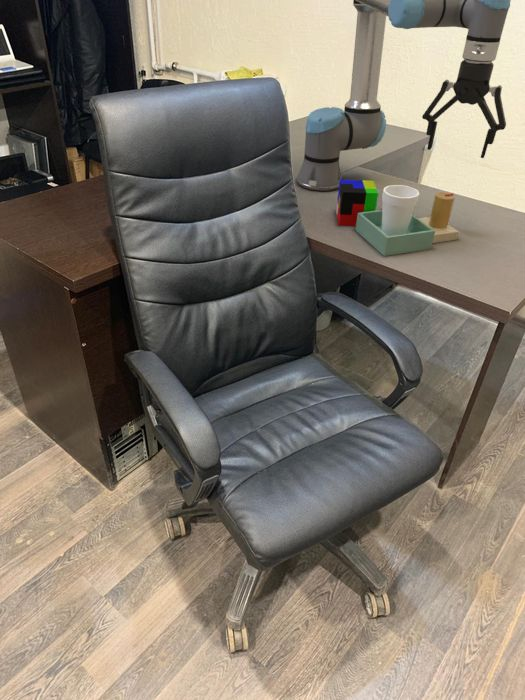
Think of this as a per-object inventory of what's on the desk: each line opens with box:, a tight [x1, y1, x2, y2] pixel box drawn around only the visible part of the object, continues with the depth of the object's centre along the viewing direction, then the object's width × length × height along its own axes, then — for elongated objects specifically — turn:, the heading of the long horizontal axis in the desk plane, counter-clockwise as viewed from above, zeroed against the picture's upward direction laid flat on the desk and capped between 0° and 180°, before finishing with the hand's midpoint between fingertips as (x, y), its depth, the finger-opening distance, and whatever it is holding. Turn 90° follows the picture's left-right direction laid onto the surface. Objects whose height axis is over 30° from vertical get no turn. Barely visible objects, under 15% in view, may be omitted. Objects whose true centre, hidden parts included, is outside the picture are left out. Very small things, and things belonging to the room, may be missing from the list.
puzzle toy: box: [335, 179, 379, 227], centre depth 155 cm, size 10×10×10 cm
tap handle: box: [429, 191, 456, 228], centre depth 147 cm, size 5×5×9 cm
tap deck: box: [417, 216, 459, 244], centre depth 150 cm, size 11×10×3 cm
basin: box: [354, 209, 435, 257], centre depth 146 cm, size 17×15×5 cm
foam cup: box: [381, 184, 420, 236], centre depth 143 cm, size 10×9×13 cm
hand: (455, 152), depth 137 cm, fingers open, 13 cm apart
